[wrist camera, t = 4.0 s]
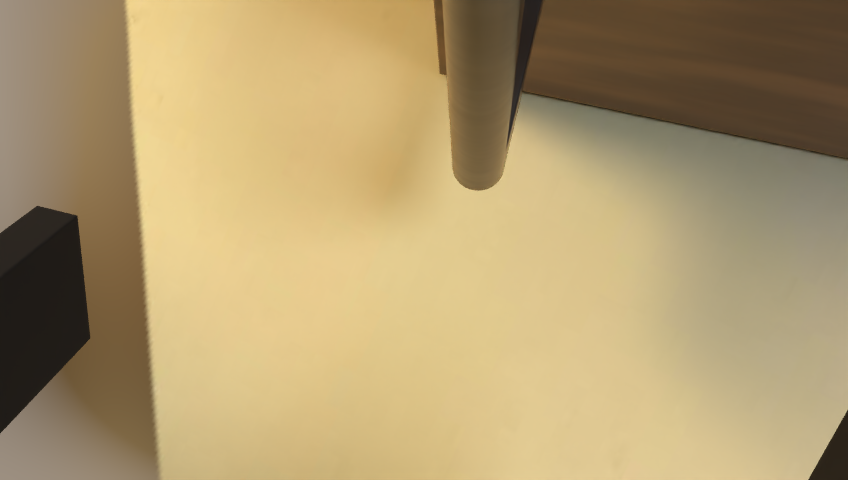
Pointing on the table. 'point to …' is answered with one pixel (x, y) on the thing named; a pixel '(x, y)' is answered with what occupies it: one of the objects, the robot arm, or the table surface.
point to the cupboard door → (645, 68)
